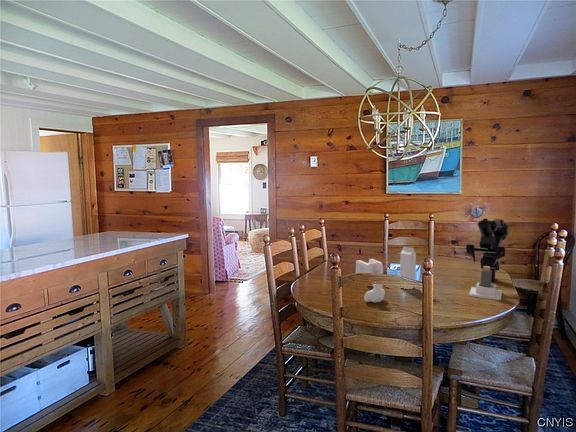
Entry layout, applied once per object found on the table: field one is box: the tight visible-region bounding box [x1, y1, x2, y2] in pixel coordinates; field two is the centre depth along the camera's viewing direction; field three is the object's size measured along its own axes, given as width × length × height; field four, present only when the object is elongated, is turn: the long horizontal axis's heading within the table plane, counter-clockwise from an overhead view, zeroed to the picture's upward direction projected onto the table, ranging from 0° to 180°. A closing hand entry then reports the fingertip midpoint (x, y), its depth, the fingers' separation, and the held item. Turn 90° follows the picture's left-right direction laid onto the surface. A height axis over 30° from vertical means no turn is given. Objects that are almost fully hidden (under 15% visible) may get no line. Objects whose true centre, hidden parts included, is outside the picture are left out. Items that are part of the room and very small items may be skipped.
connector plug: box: [480, 266, 492, 287], centre depth 204 cm, size 4×4×13 cm
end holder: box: [468, 282, 503, 301], centre depth 205 cm, size 14×14×5 cm
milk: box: [399, 246, 417, 281], centre depth 216 cm, size 6×6×22 cm
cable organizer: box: [355, 258, 384, 275], centre depth 231 cm, size 15×11×12 cm
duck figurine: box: [364, 283, 386, 303], centre depth 194 cm, size 12×8×11 cm
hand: (484, 263), depth 213 cm, fingers open, 9 cm apart
